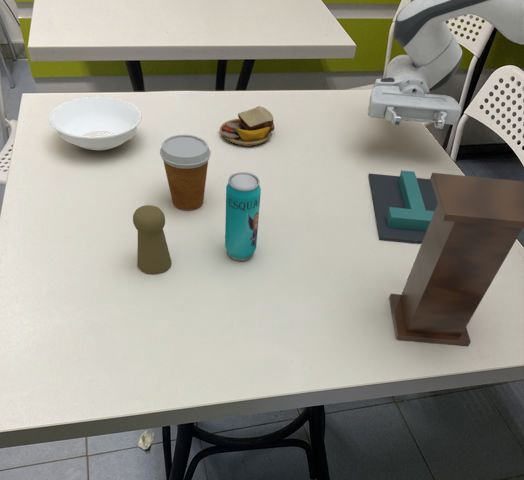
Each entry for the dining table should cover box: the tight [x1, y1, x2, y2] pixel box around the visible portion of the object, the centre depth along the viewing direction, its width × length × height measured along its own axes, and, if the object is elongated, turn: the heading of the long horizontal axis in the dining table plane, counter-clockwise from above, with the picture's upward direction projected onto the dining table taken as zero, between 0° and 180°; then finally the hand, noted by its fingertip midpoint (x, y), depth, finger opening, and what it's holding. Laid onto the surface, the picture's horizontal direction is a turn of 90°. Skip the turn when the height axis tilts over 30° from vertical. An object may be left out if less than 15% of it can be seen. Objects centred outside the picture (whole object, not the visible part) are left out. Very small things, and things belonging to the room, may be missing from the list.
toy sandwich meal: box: [219, 105, 275, 147], centre depth 119 cm, size 12×14×5 cm
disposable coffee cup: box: [159, 134, 212, 211], centre depth 96 cm, size 10×10×12 cm
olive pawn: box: [132, 204, 173, 275], centre depth 84 cm, size 6×6×11 cm
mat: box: [368, 172, 438, 244], centre depth 105 cm, size 16×24×1 cm, turn 177°
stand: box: [388, 172, 524, 347], centre depth 75 cm, size 13×10×24 cm
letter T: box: [386, 170, 434, 231], centre depth 105 cm, size 12×18×2 cm, turn 177°
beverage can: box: [224, 171, 262, 262], centre depth 86 cm, size 6×6×15 cm
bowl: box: [48, 95, 143, 151], centre depth 111 cm, size 20×20×6 cm
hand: (418, 123), depth 105 cm, fingers open, 8 cm apart
